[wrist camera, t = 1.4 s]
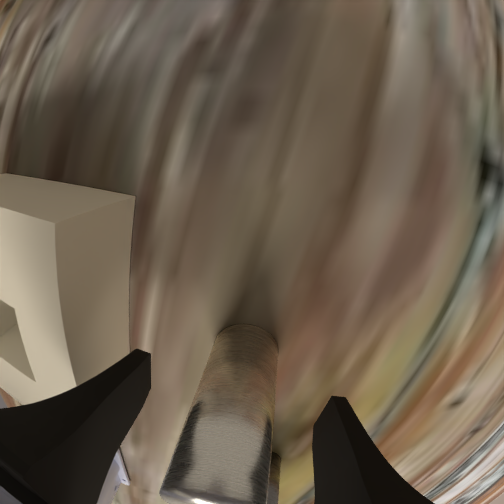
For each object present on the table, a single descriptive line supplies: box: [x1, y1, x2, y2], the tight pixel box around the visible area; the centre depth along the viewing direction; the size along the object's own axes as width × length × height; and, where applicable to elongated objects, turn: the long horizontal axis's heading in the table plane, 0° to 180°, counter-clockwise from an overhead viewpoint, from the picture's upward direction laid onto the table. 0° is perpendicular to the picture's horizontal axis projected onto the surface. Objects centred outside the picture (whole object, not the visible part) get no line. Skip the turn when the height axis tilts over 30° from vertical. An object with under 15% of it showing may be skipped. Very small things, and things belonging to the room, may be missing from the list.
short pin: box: [267, 452, 281, 504], centre depth 14 cm, size 3×3×4 cm
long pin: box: [159, 324, 278, 504], centre depth 9 cm, size 3×3×8 cm
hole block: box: [0, 173, 136, 405], centre depth 11 cm, size 12×10×5 cm
